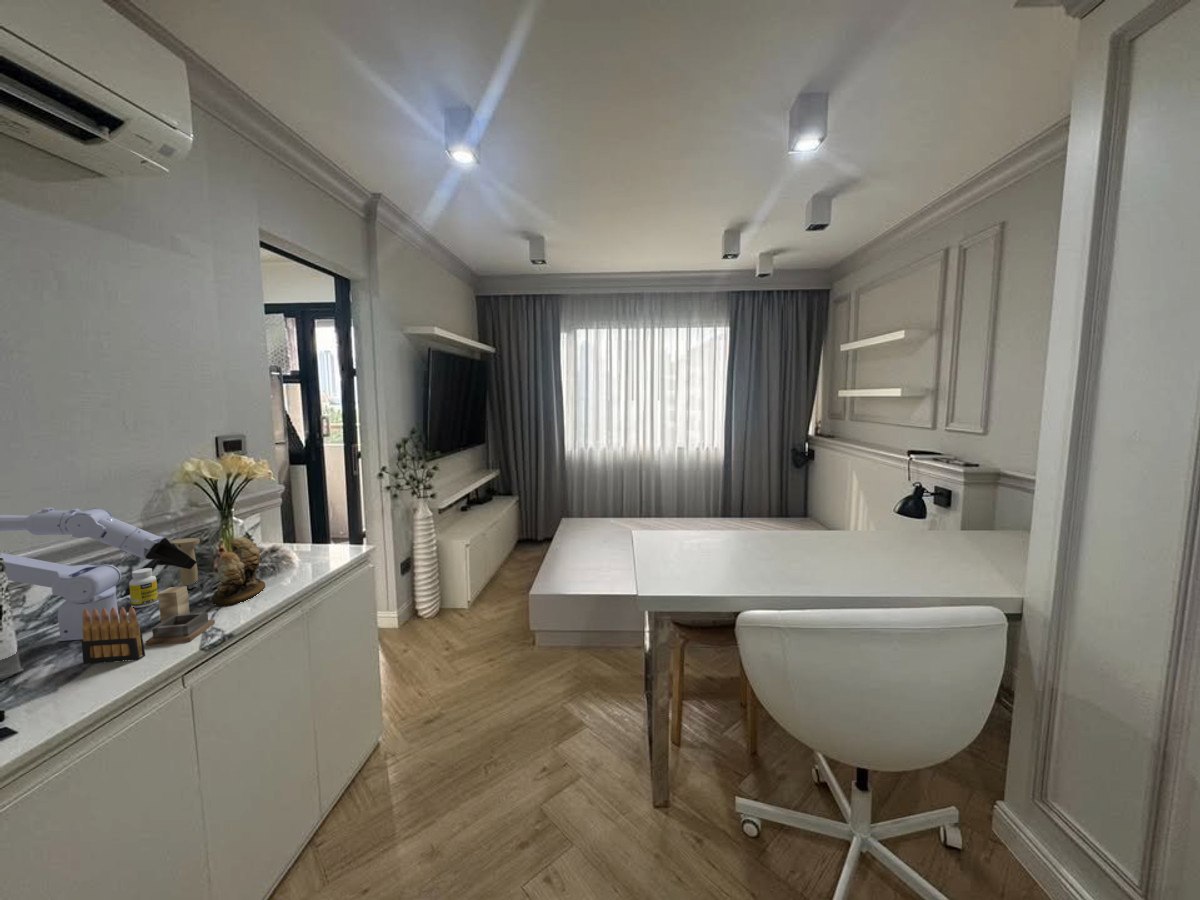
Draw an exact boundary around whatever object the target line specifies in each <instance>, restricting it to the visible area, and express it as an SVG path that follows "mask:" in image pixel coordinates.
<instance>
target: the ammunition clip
mask: <svg viewBox="0 0 1200 900" xmlns="http://www.w3.org/2000/svg"><path fill="white" fill-rule="evenodd" d="M118 615H119V619H118ZM118 615H117V612H116V610H115V608H114V607H112V609H111V612H110V620H109V615H108V612H107V610H106V609H105V608H103V609H102V612H101V621H100V616H99V613H98V611H97V610H96V609H95V608H94V609H93V612H92V622H91V617H90V614H89V612H88V610H87V609H84V611H83V616H82V620H83V627H82V633H83V639H82V641H81V650H82V652H81V653H82V663H90V664H91V665H92V664H100V663H101V664H103V663H104V662H106V663H115V662H114V661H120V662H129V661H128V660H134V661H139V660H141V659H143V658H144V657H146V652H145V646H144V645H145V644H144V640H143V639H144V638H143V634H142V633H141V631H140V623H139V621H138V617H137V613H136V610H135V608H133V607H132V606H131V605H130V607H129V610H128V614H127V611H126V609H125V607H124V606H121V607H120V609H119V612H118ZM128 621H129V622H128ZM119 622H120V623H119ZM123 660H124V661H123ZM125 660H127V661H125ZM104 664H105V663H104Z"/></svg>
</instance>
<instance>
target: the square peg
mask: <svg viewBox="0 0 1200 900" xmlns="http://www.w3.org/2000/svg"><path fill="white" fill-rule="evenodd" d="M188 592H189V590H187V586H183V585H182V586H171V587H168V588H166V589H164V590H162V591H160V592H158V606H159V615H160V623H162V622H164V621H165V620H167V619H168V618H170V617H172V616H173V615H176V614H189V613H191V610H190V602H189V593H188Z"/></svg>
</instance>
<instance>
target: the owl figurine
mask: <svg viewBox="0 0 1200 900" xmlns="http://www.w3.org/2000/svg"><path fill="white" fill-rule="evenodd" d="M230 548H231V550H232V552H230V551H227V552H223V553H221V554H220V555H219V556H220V557H219V560H218V564H217V567H216V568H217V575H218V577H217V578H218V581H219V583H221V584H219V585H218V586H217V587H216V588H217V589H216V591H215V593H214V594H213V595H212V596H211V601H210V602H211V604H212V605H213V606H217V607H228V605H230V606H234V604H235V605H238V604H237V603H240V602H243V603H245V602H244V601H246V600H248V599H251V598H253V597H254V596H256V595H257V594H259V593H260V592H261V591H264V590H265V589H266V583H265V581H264V580H261V579H260V578H257V576H256V575H257V571H258V570H257V569H258V567H259V565H260V562H261V553H260V549H259V548H258V547H256V545H255V543H254V542H253V541H252V540H251V539H249V538H246V537H235V538H233V539H232V540H231V542H230ZM264 588H265V589H264ZM263 589H264V590H263ZM259 595H260V594H259ZM256 597H257V596H256ZM253 599H254V598H253ZM251 600H252V599H251ZM248 601H249V600H248ZM246 602H247V601H246ZM240 604H241V603H240Z"/></svg>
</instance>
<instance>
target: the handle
mask: <svg viewBox="0 0 1200 900" xmlns="http://www.w3.org/2000/svg"><path fill="white" fill-rule="evenodd" d="M200 541H201V540H200V538H199V537H198V538H197V537H191V538H190V537H189V538H187V537H185V538H180V539H175V540H173V541H171V544H174V545H176V547H177V548H178V549H179V550H181V551H182V552H184V553H186V554H187V555H189V556H190V557H191V558H192V559H193V560H195V561H196V562H197V560H196V553H195V547H196V546H197V545H199V544H200ZM198 571H199V570H198V564H197V563H196V564H195V565H194V566H193V567H192V568H191V569H186V568H181V567H179V575H180V577H179V578H180V582H181V585H182V586H183V585H190V584H193V583H195V582H196V581H197V582H198V581H199V580H198V578H199V577H198V576H199V572H198ZM197 582H196V583H197Z"/></svg>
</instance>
